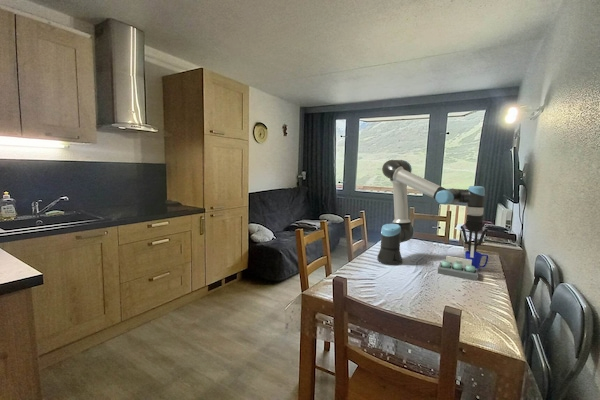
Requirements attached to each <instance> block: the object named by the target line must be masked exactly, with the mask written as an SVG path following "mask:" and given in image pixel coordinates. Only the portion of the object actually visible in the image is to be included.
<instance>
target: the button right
mask: <svg viewBox="0 0 600 400" xmlns="http://www.w3.org/2000/svg"><path fill="white" fill-rule="evenodd" d="M465 271H466V272H472V273H475V266H472V265H466V269H465Z"/></svg>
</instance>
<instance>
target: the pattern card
mask: <svg viewBox="0 0 600 400" xmlns="http://www.w3.org/2000/svg"><path fill="white" fill-rule="evenodd" d="M445 261H448V262H450V264H453V265H454V263H460V264H462V266H465V267H466V265H471V264H472V260H470V259H465V258H463V257H462V258H461V257H455V256H449V255H446V258H445Z"/></svg>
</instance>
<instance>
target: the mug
mask: <svg viewBox="0 0 600 400" xmlns="http://www.w3.org/2000/svg"><path fill="white" fill-rule="evenodd" d="M470 253H471V251H469V250H465V252H464V255H465V257H464V259H470V260H472V264H471V265H472V266H475V268H477V271H479V269H480V268H485V267H486V266H487V264H488V260H489V255H487V254H484V253H483V254H482V253H481V252H478V251H476V252H475V251H474V256H473V258H472V257H470ZM482 257H486V259H485V262H484V264H483V265H481V260H482Z"/></svg>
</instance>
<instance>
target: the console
mask: <svg viewBox="0 0 600 400" xmlns="http://www.w3.org/2000/svg"><path fill="white" fill-rule="evenodd" d="M465 269H466V267H465V266H462V271H461V270H455V269H453V264H450V268H444V267H442V261H441V262H440V261H439V264H438V267H437V274H438V275H439V274H440V275H444V276H450V277H455V278H459V279H466V280H468V281H474V282H478V276H479V275H478V274H479V273H478V270H477V268H475V273H472V272H466V271H465Z"/></svg>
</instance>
